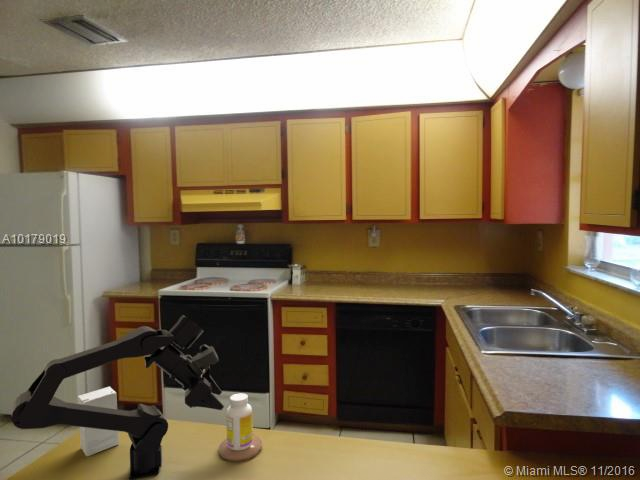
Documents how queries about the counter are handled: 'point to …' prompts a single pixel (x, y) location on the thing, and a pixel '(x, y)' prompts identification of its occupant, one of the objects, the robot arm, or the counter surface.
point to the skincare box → (98, 438)
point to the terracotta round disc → (241, 454)
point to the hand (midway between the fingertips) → (221, 400)
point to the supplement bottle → (239, 423)
